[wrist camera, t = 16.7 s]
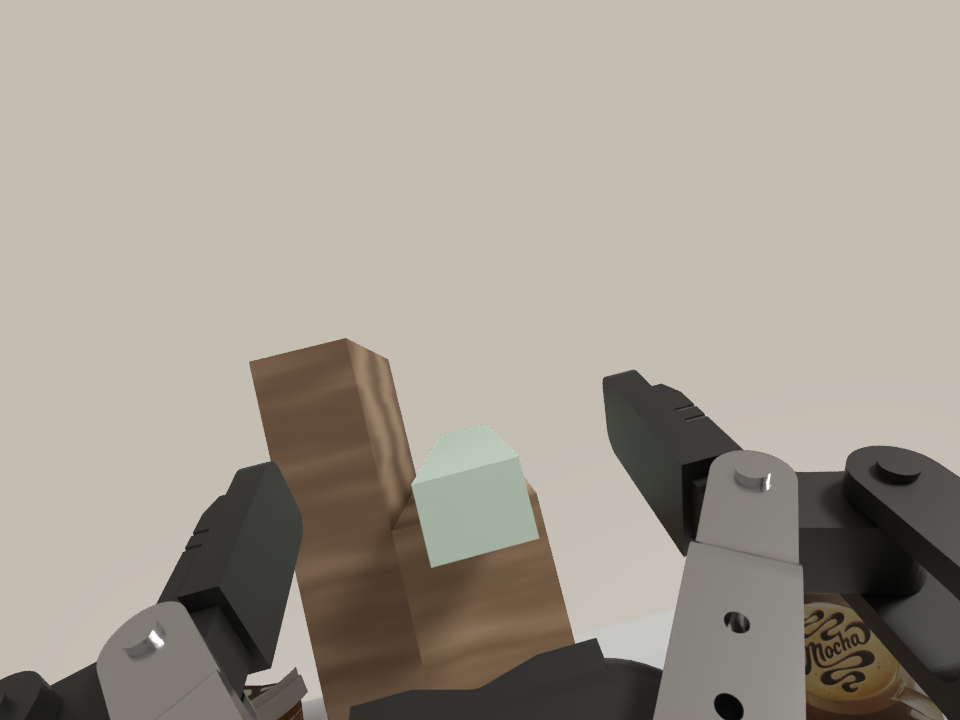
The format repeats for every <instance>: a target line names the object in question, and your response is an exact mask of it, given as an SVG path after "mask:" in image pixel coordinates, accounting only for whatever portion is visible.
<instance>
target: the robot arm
mask: <svg viewBox="0 0 960 720" xmlns="http://www.w3.org/2000/svg"><path fill="white" fill-rule="evenodd" d="M603 394H604V403H605V412H606V423H607V431H608V436H609V440H610V443H611V446H612V448H613V451H614V453H615V454H616V456H617V458H618V459H619V460H620V462H621V464H622V465H623V467H624V468H625V469H626V471H627V473H628V474H629V475H630V477H631V479H632V480H633V481H634V483H635V485H636V486H637V488H638V489H639V491H640V492H641V494H642V495H643V496H644V498H645V500H646V501H647V503H648V504H649V506H650V507H651V509H652V510H653V511H654V513H655V515H656V516H657V518H658V519H659V520H660V522H661V523H662V525H663V526H664V528H665V529H666V531H667V532H668V534H669V535H670V537H671V538H672V540H673V541H674V543H675V544H676V546H677V547H678V549H679V550H680V552H681V553H682V555H683V556H684V557H685V556H687V557H686V563H685V567H684V572H683V577H682V582H681V587H680V591H679V596H678V601H677V606H676V611H675V616H674V620H673V625H672V630H671V635H670V640H669V645H668V650H667V654H666V659H665V664H664V669H663V670H661V669H658V668H655V667H653V666H650V665H647V664H644V663H640V662H636V661H632V660H625V659H617V658H604V656H603V654H602V651H601V649H600V646H599V644H598V641H597V638H594V639H591V640H587V641H584V642H580V643H576V644H573V645H569V646H566V647H562V648H559V649H555V650H551V651H548V652H544V653H541V654H537V655H535V656H534V657H532V658H530V659H528V660H527V661H525V662H523V663H522V664H520V665H518V666H516V667H515V668H513V669H511V670H510V671H508V672H506V673H504V674H503V675H501V676H499V677H498V678H496V679H494V680H493V681H491V682H489V683H487V684H486V685H484V686H482V687H480V688H477V689H471V690H409V691H405V692H401V693H398V694H394V695H391V696H387V697H384V698H380V699H376V700H373V701H369V702H366V703H362V704H359V705H355V706H351V707H350V713H349V720H806V694H805V643H804V592H813V593H839V594H840V595H841V596H842V598H843V599H844V600H845V601H846V602H847V603H848V604H849V606H850V607H851V608H852V609H853V610H854V611H855V613H856V614H857V615H858V616H859V617H860V618H861V619H862V621H863V622H864V623H865V624H866V625H867V626H868V628H869V629H870V630H871V631H872V632H873V633H874V634H875V636H876V637H877V638H878V639H879V640H880V641H881V643H882V644H883V645H884V646H885V647H886V648H887V649H888V651H889V652H890V653H891V654H892V655H893V656H894V658H895V659H896V660H897V661H898V662H899V663H900V664H901V666H902V667H903V668H904V669H905V670H906V671H907V673H908V674H909V675H910V676H911V677H912V678H913V679H914V681H915V682H916V683H917V684H918V685H919V686H920V688H921V689H922V690H923V691H924V692H925V693H926V694H927V696H928V697H929V698H930V699H931V700H932V701H933V703H934V704H935V705H936V706H937V707H938V708H939V710H940V711H941V712H942V713H943V714H944V715H945V716H946V718H947V719H948V720H960V477H959V476H957V475H955V474H954V473H953V472H951V471H950V470H948V469H947V468H945V467H944V466H942V465H941V464H939V463H938V462H936V461H934V460H933V459H931V458H929V457H927V456H925V455H922V454H920V453H917V452H914V451H911V450H907V449H903V448H898V447H891V446H869V447H864V448H860V449H858V450H855V451H854V452H852V453H851V454H850V455H849V456H848V458H847V461H846V467H845V471H839V472H794V470H793V469H792V468H791V467H790V466H789V465H788V464H787V463H785V462H783V461H782V460H780V459H779V458H777V457H774V456H772V455H769V454H766V453H762V452H757V451H749V450H743V449H742V448H741V447H740V446H739V445H737V443H735V442H734V441H733V440H732V439H731V438H730V437H729V436H728V435H727V434H726V433H725V432H724V431H723V430H721V429H720V428H719V427H718V426H717V425H716V424H715V423H714V422H713V421H712V420H711V419H710V418H709V417H705V414H704V413H703V412H702V411H701V410H700V409H699V408H698V407H697V406H696V407H695V406H694V404H693V403H692V402H691V401H690V400H689V399H688V398H687V397H686V396H684V394H683V393H681V392H680V391H678V390H675V389H673V388H670V387H668V386H666V385H663V384H658V385H654V386H651V385H650V384H649V383H648V382H647V381H646V380H645V379H644V378H643V377H642V376H641V375H640V374H639V373H638V372H637V371H636V370H630V371H626V372H623V373H619V374H615V375H611V376H607V377H604V378H603ZM193 535H194V536H191V538H190V539H189V541H188V543H187V546H186V547H185V549H186V551H185V552H183V553H182V555H181V557H180V559H179V561H178V563H177V565H176V567H175V569H174V571H173V573H172V575H171V576H170V578H169V581H168V582H167V584H166V586H165V588H164V590H163V592H162V594H161V596H160V598H159V600H158V602H157V604H156V605H154V606H151V607H149V608H147V609H145V610H143V611H141V612H140V613H138V614H136V615H135V616H133V617H132V618H131V619H129V620H128V621H127V622H125V623H124V624H123V625H122V626H121V627H120V628H119V629H118V630H117V631H116V632H115V633H114V634H113V635H112V636H111V638H110V639H109V640H108V641H107V643H106V644H105V645H104V647H103V649H102V651H101V652H100V654H99V657H98V660H97V662H95V663H93V664H91V665H89V666H88V667H86V668H84V669H82V670H80V671H78V672H76V673H74V674H72V675H70V676H68V677H66V678H64V679H62V680H60V681H58V682H56V683H55V684H53V685H51V686H50V685H49V684H48V683H47V682H46V681H45V680H44V679H43V678H42V677H41V676H40V675H39V674H38V673H36V672H34V671H23V672H19V673H15V674H13V675H10V676H8V677H5V678H3V679H1V680H0V720H261V719H260V717H259V715H258V713H257V712H256V710H255V708H254V707H253V705H252V703H251V701H250V700H249V698H248V697H247V695H246V694H245V692H244V691H243V689H244V686H245V682H246V678H247V675H248V674H252V673H255V672H259V671H263V670H267V669H270V668H271V666H272V662H273V658H274V654H275V650H276V645H277V641H278V637H279V633H280V629H281V624H282V620H283V616H284V612H285V608H286V603H287V599H288V595H289V591H290V587H291V583H292V578H293V574H294V570H295V566H296V562H297V557H298V553H299V549H300V545H301V541H302V536H303V522H302V517H301V513H300V510H299V508H298V506H297V504H296V502H295V500H294V498H293V495H292V493H291V491H290V489H289V487H288V485H287V483H286V481H285V479H284V477H283V475H282V473H281V471H280V469H279V467H278V465H277V464H276V463H275V462H273V461H271V462H266V463H262V464H258V465H254V466H250V467H246V468H242V469H239V470H238V471H237V473H236V474H235V477H234V479H233V481H232V483H231V485H230V487H229V489H228V491H227V493H226V495H223V496H220V497H218V498H217V499H216V501H215V502H214V503H213V504H212V505H211V506H210V507H209V508H208V509H207V510H206V511H205V512H204V513H203V514H202V516H201V518H200V520H199V522H198V524H197V526H196V528H195V530H194V532H193Z"/></svg>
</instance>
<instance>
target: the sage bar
mask: <svg viewBox="0 0 960 720" xmlns="http://www.w3.org/2000/svg"><path fill="white" fill-rule="evenodd" d="M411 486H412V490H413V494H414V498H415V502H416V507H417V511H418V515H419V519H420V523H421V527H422V532H423V536H424V540H425V544H426V548H427V552H428V557H429V561H430V565H431V568H433V567H436V566H440V565H444V564H447V563H451V562H455V561H458V560H462V559H466V558H469V557H473V556H477V555H480V554H484V553H488V552H491V551H495V550H499V549H502V548H506V547H510V546H513V545H517V544H521V543H525V542H528V541H532V540H536V539H539V534H538V530H537V526H536V523H535V519H534V515H533V511H532V507H531V503H530V499H529V495H528V491H527V487H526V483H525V480H524V476H523V472H522V468H521V464H520V460H519V457H518V456H517V454H515V452H514V451H512V449H511V448H510V447H509V446H508V445H507V444H506V443H505V442H504V441H503V440H502V439H501V438H500V437H499V436H498V435H497V434H496V433H495V432H494V431H493V430H492V429H491V428H490V427H489V426H488V425H487V424H483V425H480V426H475V427H471V428H467V429H464V430H460V431H456V432H452V433H448V434H444V435H440V437H439V439H438V441H437V442H436V444H435V446H434V447H433V449H432V450H431V452H430V454H429V456H428V457H427V459H426V461H425V462H424V464H423V466H422V467H421V469H420V471H419V473H418V474H417V476H416V478H415V479H414V481H413V483H412V484H411Z"/></svg>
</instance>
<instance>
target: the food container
mask: <svg viewBox="0 0 960 720" xmlns="http://www.w3.org/2000/svg"><path fill="white" fill-rule="evenodd" d="M243 691H244V692H245V694H246V695H247V697H248V698H249V700H250V701H251V703H252V705H253V707H254V708H255V710H256V712H257V713H258V715H259V717H260V719H261V720H303V711H302V703H301V699H302V698H303V696H304V695H305V694H306V693H307V692H308V691H307V689H306V686H305V684H304V681H303V679H302V676H301V675H298V673H297V669H296V667H295V668H294V669H293V670H292V671H291V672H290V673H289V674H288V675H287V676H286V677H285V678H283V679H282V680H281V681H280V682H278V683H276V684H269V685H263V686H244V689H243Z"/></svg>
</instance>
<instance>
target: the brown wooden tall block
mask: <svg viewBox="0 0 960 720" xmlns="http://www.w3.org/2000/svg"><path fill="white" fill-rule="evenodd" d="M249 364H250V368H251V373H252V377H253V382H254V387H255V391H256V396H257V400H258V405H259V409H260V414H261V418H262V423H263V427H264V432H265V436H266V441H267V446H268V450H269V455H270V459H271V461H273V462H275V463H276V464H277V465H278V467H279V469H280V471H281V473H282V475H283V477H284V479H285V481H286V483H287V485H288V487H289V489H290V491H291V493H292V495H293V498H294V500H295V502H296V504H297V506H298V508H299V510H300V513H301V517H302V522H303V536H302V541H301V545H300V549H299V553H298V557H297V562H296V566H295V572H296V577H297V581H298V586H299V590H300V594H301V599H302V604H303V608H304V613H305V617H306V622H307V626H308V631H309V635H310V640H311V644H312V649H313V654H314V658H315V663H316V667H317V672H318V676H319V681H320V685H321V690H322V694H323V699H324V703H325V708H326V712H327V717H328V720H349V713H350V707H351V706H355V705H359V704H362V703H366V702H369V701H373V700H376V699H380V698H384V697H387V696H391V695H394V694H398V693H401V692H405V691H409V690H471V689H477V688H480V687H482V686H484V685H486V684H487V683H489V682H491V681H493V680H494V679H496V678H498V677H499V676H501V675H503V674H504V673H506V672H508V671H510V670H511V669H513V668H515V667H516V666H518V665H520V664H522V663H523V662H525V661H527V660H528V659H530V658H532V657H534V656H535V655H537V654H541V653H544V652H548V651H551V650H555V649H559V648H562V647H566V646H569V645H573V644H575V642H574V638H573V634H572V630H571V626H570V622H569V618H568V615H567V610H566V607H565V603H564V599H563V595H562V591H561V587H560V583H559V579H558V576H557V571H556V568H555V564H554V560H553V556H552V552H551V548H550V544H549V540H548V536H547V533H546V529H545V525H544V521H543V517H542V513H541V509H540V505H539V501H538V497H537V494H536V492H535V491H534V490H533V488H532V487H531V485H530V484H529V483H528V481H527V480H526V479H525V478H524V480H525V483H526V487H527V491H528V495H529V499H530V503H531V507H532V511H533V515H534V519H535V523H536V526H537V530H538V534H539V539H536V540H532V541H528V542H525V543H521V544H517V545H513V546H510V547H506V548H502V549H499V550H495V551H491V552H488V553H484V554H480V555H477V556H473V557H469V558H466V559H462V560H458V561H455V562H451V563H447V564H444V565H440V566H436V567H433V568H431V565H430V561H429V557H428V552H427V548H426V544H425V540H424V536H423V532H422V527H421V523H420V519H419V515H418V511H417V507H416V502H415V498H414V494H413V490H412V486H411V484H412V483H413V481H414V479H415V478H416V473H415V469H414V465H413V461H412V457H411V452H410V448H409V444H408V440H407V436H406V432H405V428H404V423H403V420H402V415H401V411H400V407H399V403H398V399H397V394H396V390H395V386H394V382H393V378H392V373H391V369H390V365H389V361H388V359H386V358H384V357H382V356H380V355H378V354H376V353H374V352H372V351H370V350H368V349H366V348H364V347H362V346H360V345H358V344H356V343H354V342H352V341H350V340H348V339H346V338H345V339H341V340H336V341H333V342H328V343H324V344H320V345H316V346H312V347H308V348H304V349H300V350H296V351H292V352H288V353H283V354H279V355H275V356H271V357H267V358H263V359H259V360H255V361H251V362H249Z"/></svg>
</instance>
